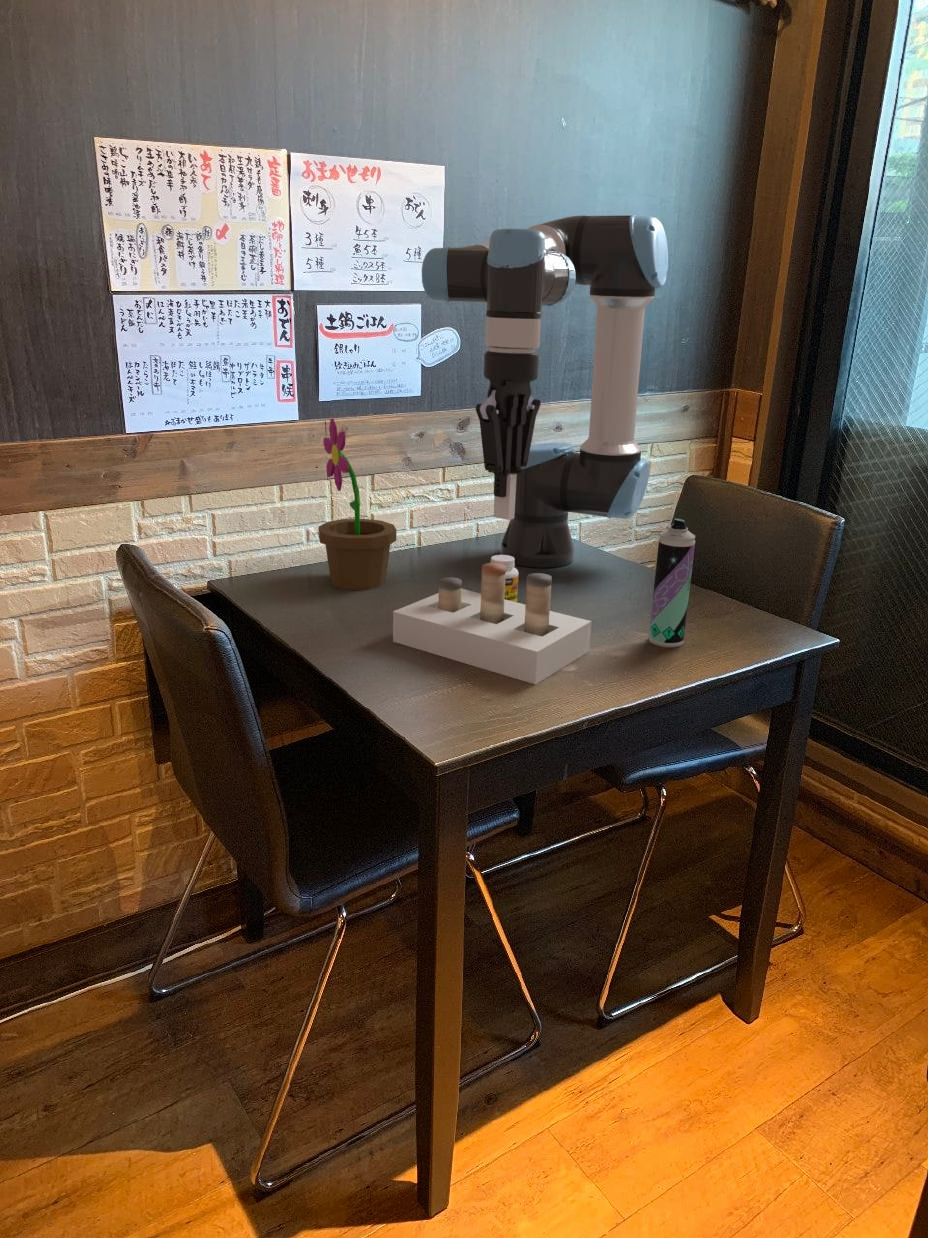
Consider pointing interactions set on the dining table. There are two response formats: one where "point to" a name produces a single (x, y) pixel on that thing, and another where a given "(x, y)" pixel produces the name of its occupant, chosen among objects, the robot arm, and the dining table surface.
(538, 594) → the plug
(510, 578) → the supplement bottle
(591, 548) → the dining table surface
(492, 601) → the plug
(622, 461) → the robot arm
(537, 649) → the socket board
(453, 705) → the dining table surface
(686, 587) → the spray can
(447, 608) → the plug
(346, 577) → the flowerpot
